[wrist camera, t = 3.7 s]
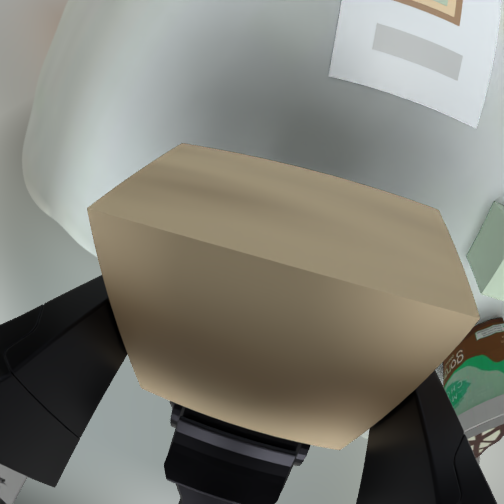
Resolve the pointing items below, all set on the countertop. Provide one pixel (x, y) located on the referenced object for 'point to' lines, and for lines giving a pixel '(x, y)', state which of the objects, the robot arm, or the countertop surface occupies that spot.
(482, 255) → the sage brick
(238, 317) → the oak brick
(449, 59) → the page
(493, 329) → the food container
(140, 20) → the countertop surface
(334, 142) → the countertop surface
